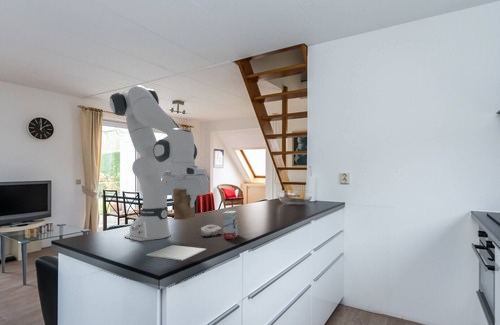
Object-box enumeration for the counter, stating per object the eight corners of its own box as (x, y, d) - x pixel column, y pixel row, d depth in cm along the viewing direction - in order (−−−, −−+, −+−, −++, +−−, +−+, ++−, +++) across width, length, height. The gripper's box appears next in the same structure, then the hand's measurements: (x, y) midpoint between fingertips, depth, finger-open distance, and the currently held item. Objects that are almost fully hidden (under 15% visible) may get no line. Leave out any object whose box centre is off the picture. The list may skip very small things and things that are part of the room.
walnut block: (174, 219, 101) (173, 188, 102) (184, 216, 107) (183, 187, 107) (184, 219, 99) (183, 188, 99) (195, 217, 104) (194, 187, 105)
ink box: (233, 239, 122) (232, 212, 123) (223, 239, 123) (222, 212, 124) (238, 234, 131) (237, 210, 131) (228, 234, 132) (227, 210, 132)
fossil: (225, 228, 134) (209, 223, 127) (220, 241, 132) (205, 237, 125) (214, 224, 140) (199, 219, 133) (209, 237, 138) (194, 232, 132)
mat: (146, 255, 101) (146, 254, 101) (172, 246, 114) (172, 245, 114) (182, 260, 94) (182, 259, 94) (206, 249, 107) (206, 248, 107)
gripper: (156, 171, 105) (157, 207, 105) (199, 169, 96) (201, 208, 96) (168, 171, 111) (169, 205, 110) (210, 169, 102) (211, 206, 101)
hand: (184, 207), depth 103 cm, fingers closed on walnut block, 5 cm apart
